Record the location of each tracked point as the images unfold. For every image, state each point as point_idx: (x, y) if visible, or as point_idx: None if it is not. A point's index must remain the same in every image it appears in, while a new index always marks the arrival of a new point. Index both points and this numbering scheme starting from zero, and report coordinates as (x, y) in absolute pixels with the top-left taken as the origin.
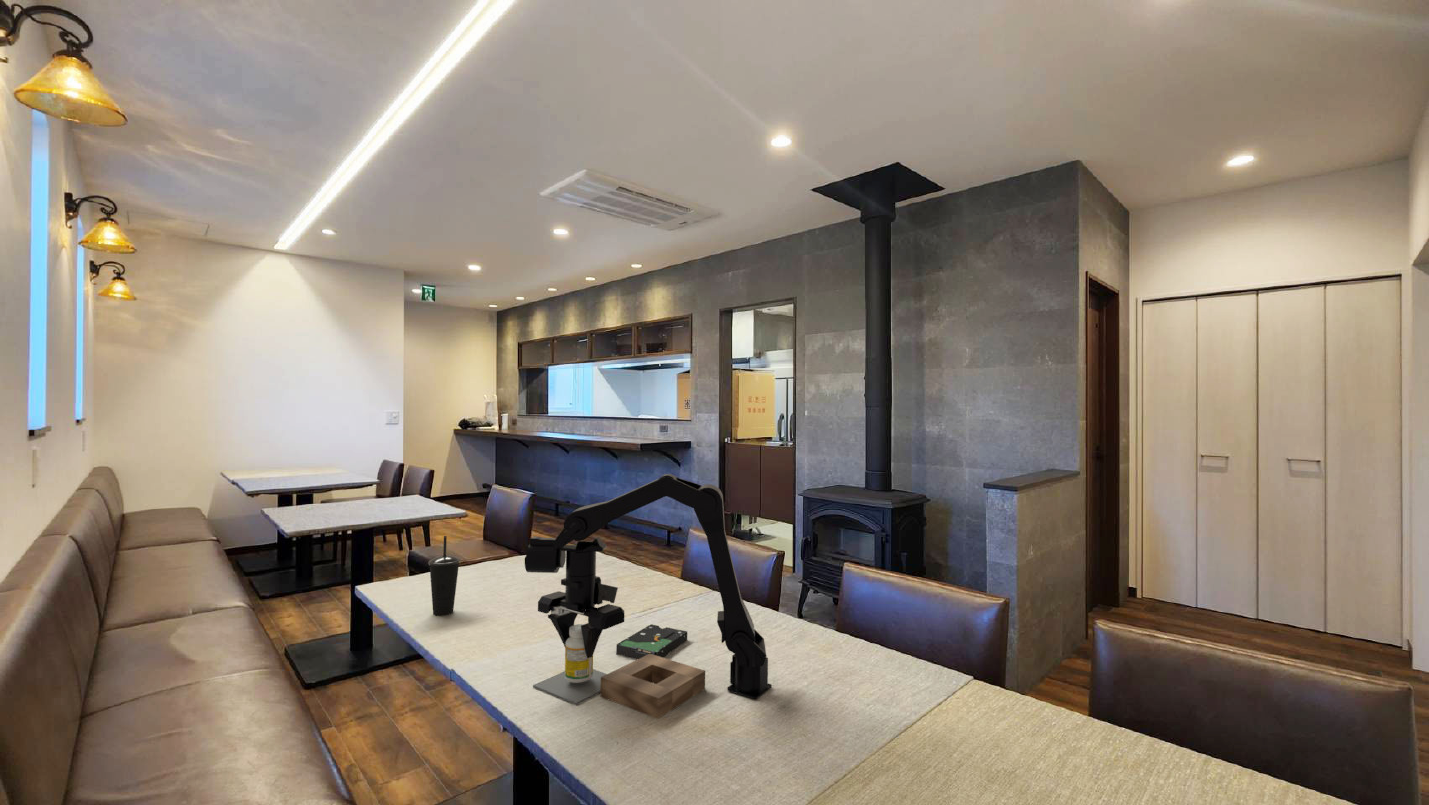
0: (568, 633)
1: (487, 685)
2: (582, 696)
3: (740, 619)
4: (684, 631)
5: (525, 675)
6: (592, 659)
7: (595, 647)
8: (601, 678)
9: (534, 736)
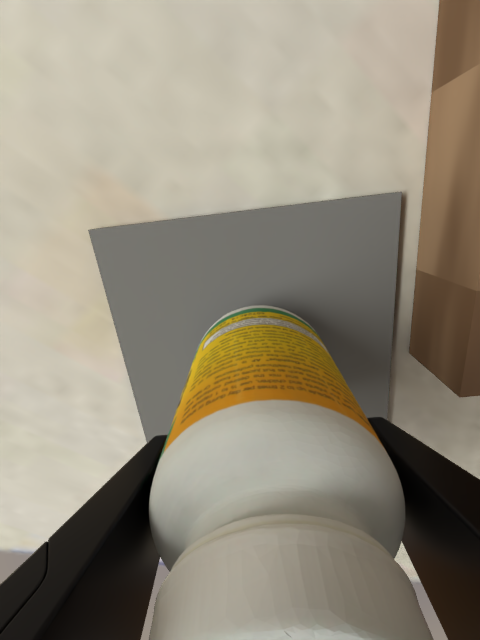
0: (124, 595)
1: (45, 528)
2: (368, 409)
3: None
4: None
5: (39, 429)
6: (340, 374)
7: (438, 454)
8: (463, 394)
9: (411, 574)
